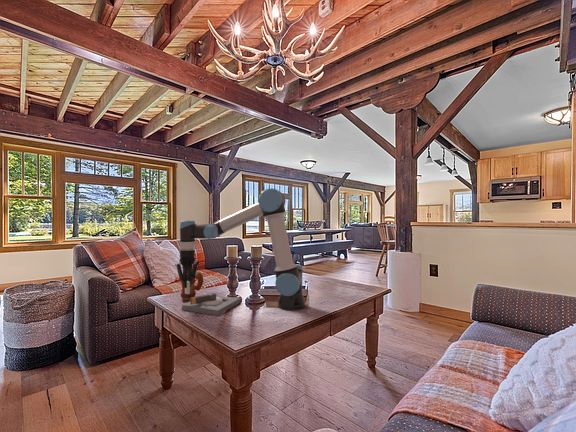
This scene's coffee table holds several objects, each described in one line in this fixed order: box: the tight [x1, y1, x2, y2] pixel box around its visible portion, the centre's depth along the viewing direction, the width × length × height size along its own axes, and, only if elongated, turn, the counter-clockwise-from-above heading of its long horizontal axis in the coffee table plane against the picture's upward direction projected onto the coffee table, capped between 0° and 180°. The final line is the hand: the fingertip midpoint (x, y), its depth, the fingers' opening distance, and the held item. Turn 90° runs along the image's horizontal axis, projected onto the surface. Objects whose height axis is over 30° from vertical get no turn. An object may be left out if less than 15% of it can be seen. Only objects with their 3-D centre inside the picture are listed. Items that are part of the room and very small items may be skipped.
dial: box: [189, 292, 223, 307], centre depth 156 cm, size 18×11×5 cm, turn 132°
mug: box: [180, 271, 204, 302], centre depth 172 cm, size 15×8×15 cm, turn 143°
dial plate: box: [181, 293, 241, 316], centre depth 159 cm, size 22×22×3 cm
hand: (187, 293), depth 155 cm, fingers closed
